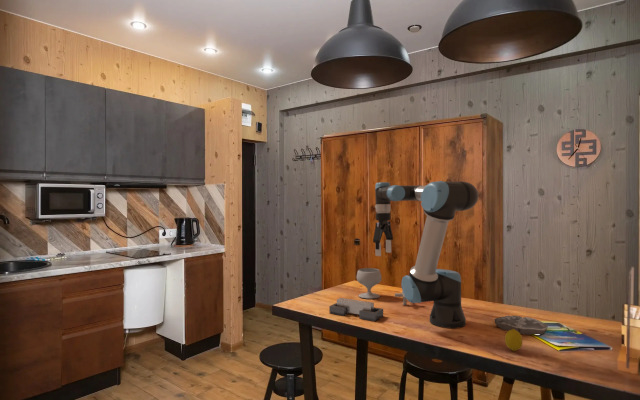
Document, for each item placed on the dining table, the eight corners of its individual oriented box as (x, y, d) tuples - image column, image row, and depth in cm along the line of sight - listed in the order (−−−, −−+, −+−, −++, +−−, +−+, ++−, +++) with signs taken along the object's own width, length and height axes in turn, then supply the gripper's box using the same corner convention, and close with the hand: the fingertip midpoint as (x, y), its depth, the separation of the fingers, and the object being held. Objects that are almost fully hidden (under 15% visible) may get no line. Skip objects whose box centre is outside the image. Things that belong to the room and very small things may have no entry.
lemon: (504, 352, 135) (503, 329, 135) (506, 347, 139) (506, 325, 139) (521, 355, 131) (521, 332, 131) (523, 350, 136) (523, 328, 136)
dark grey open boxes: (383, 316, 178) (383, 308, 178) (375, 321, 170) (375, 313, 170) (338, 308, 190) (338, 301, 190) (329, 313, 183) (329, 306, 183)
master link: (373, 314, 177) (373, 302, 177) (370, 316, 174) (370, 304, 174) (340, 308, 187) (340, 297, 187) (336, 310, 184) (336, 299, 184)
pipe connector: (413, 302, 201) (413, 283, 201) (416, 307, 191) (415, 287, 191) (394, 301, 202) (393, 283, 202) (396, 307, 192) (395, 287, 192)
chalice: (372, 301, 204) (371, 273, 204) (351, 296, 213) (351, 270, 213) (386, 296, 214) (386, 269, 214) (366, 292, 224) (366, 266, 224)
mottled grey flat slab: (549, 327, 161) (548, 320, 161) (546, 340, 146) (546, 332, 146) (498, 319, 171) (498, 312, 171) (491, 330, 157) (491, 323, 157)
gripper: (385, 211, 206) (386, 250, 206) (365, 213, 185) (366, 256, 185) (398, 211, 202) (399, 251, 202) (380, 213, 181) (380, 257, 181)
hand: (383, 254), depth 194 cm, fingers open, 13 cm apart
